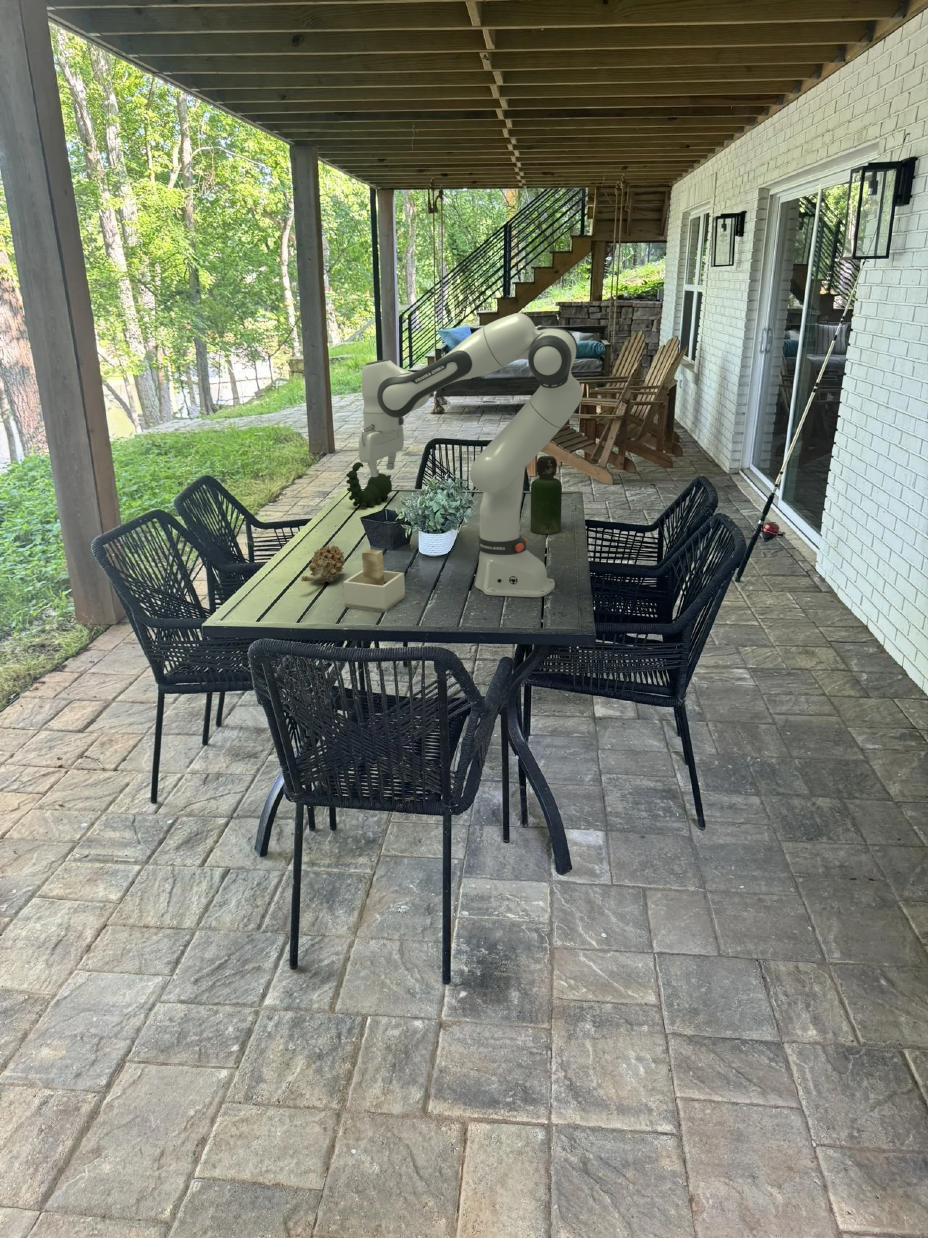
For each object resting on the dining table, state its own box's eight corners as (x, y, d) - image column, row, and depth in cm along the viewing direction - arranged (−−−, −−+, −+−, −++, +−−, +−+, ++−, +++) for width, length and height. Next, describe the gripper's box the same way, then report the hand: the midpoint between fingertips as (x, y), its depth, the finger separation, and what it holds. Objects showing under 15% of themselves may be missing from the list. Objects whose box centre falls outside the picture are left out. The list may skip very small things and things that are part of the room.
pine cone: (321, 571, 258) (318, 539, 254) (352, 573, 256) (349, 540, 252) (292, 596, 238) (288, 562, 234) (324, 598, 236) (321, 564, 232)
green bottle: (524, 530, 294) (524, 457, 285) (545, 524, 301) (546, 453, 291) (545, 536, 287) (547, 461, 278) (567, 530, 293) (569, 457, 284)
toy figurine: (364, 517, 321) (402, 496, 340) (358, 467, 313) (397, 449, 332) (344, 514, 326) (383, 494, 345) (338, 465, 318) (378, 447, 336)
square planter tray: (405, 597, 235) (404, 572, 233) (385, 612, 225) (383, 587, 223) (366, 592, 240) (364, 568, 237) (344, 607, 229) (343, 582, 227)
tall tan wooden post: (385, 596, 232) (382, 550, 228) (380, 600, 230) (377, 554, 225) (370, 595, 234) (367, 549, 229) (365, 598, 231) (362, 552, 227)
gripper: (372, 428, 223) (375, 481, 228) (406, 417, 240) (408, 466, 246) (351, 427, 225) (354, 480, 230) (386, 416, 243) (389, 465, 248)
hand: (382, 472), depth 238 cm, fingers open, 8 cm apart
